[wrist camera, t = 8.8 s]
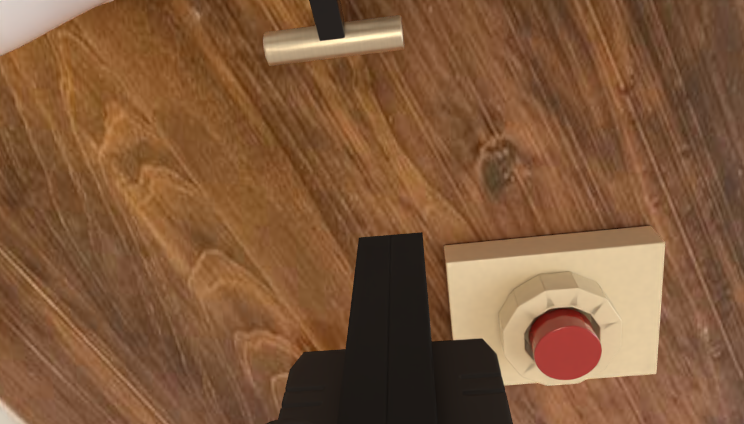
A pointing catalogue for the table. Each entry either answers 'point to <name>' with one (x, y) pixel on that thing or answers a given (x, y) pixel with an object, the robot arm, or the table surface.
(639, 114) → the table surface
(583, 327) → the button
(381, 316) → the robot arm
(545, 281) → the button block
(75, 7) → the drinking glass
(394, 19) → the lever
